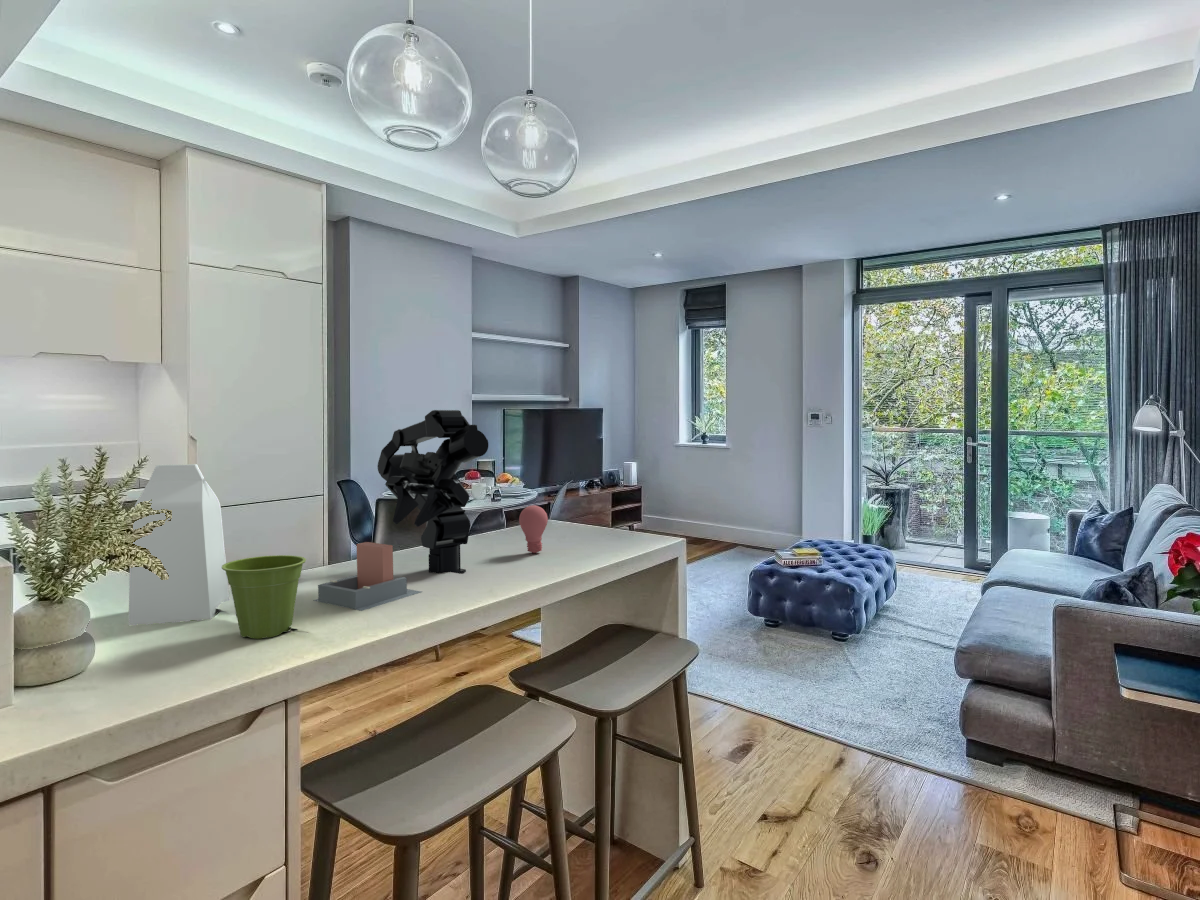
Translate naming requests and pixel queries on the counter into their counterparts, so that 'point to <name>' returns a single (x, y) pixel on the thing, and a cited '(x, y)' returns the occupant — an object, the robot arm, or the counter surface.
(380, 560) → the upright terracotta block
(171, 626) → the counter surface
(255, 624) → the plant pot
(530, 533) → the light bulb
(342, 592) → the dock
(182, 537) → the milk
